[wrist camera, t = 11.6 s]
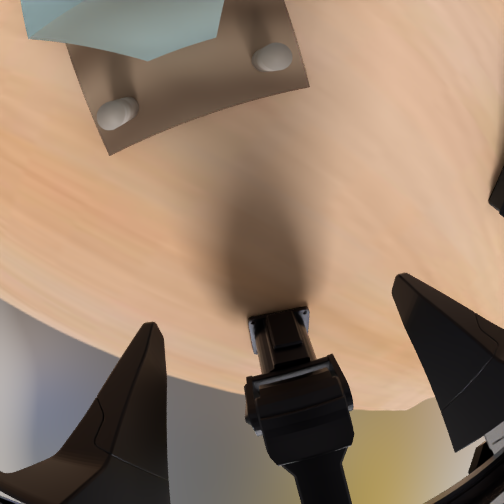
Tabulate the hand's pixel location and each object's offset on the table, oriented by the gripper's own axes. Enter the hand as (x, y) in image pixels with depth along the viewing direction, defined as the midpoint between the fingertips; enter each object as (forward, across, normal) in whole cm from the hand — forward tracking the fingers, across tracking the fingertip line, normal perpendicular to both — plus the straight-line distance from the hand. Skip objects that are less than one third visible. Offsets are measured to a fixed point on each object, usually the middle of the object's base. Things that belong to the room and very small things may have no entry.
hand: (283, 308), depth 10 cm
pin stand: (+13, +3, -12) cm, 18 cm away
